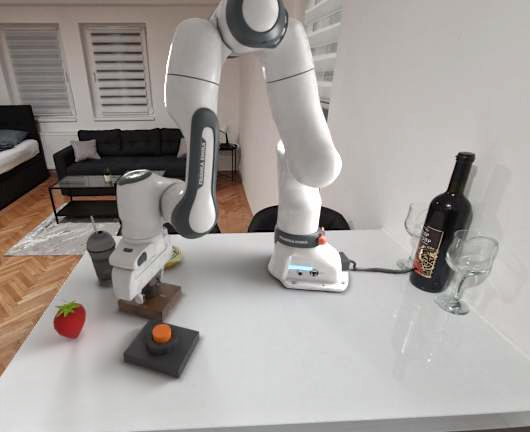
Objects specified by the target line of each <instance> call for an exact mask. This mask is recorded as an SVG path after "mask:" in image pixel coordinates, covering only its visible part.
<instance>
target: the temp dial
mask: <svg viewBox="0 0 530 432" xmlns="http://www.w3.org/2000/svg"><path fill="white" fill-rule="evenodd" d="M142 294H145V298H153V297H155V296H157V294H158V284H157V279H156V278H154V277H153V278H152V279H151V280H150V281H149V282H148V283H147V284H146V285H145V286H144V288H143V289H142Z"/></svg>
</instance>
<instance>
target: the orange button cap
mask: <svg viewBox="0 0 530 432" xmlns="http://www.w3.org/2000/svg"><path fill="white" fill-rule="evenodd" d="M152 334H153V340H154V342H156V343H158V344H162V343H166V342H168V341H169V340H170V338H171V329H170V327H169V326H168V325H166V324H160V325H157V326H156V327H155V328H154V329H153V331H152Z"/></svg>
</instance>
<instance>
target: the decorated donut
mask: <svg viewBox="0 0 530 432" xmlns="http://www.w3.org/2000/svg"><path fill="white" fill-rule="evenodd" d="M172 248H173V254H172V257H171V258H170V259H169V260H168V261H167V263H166V264H165V265H164V270H168V269H170V268H173V267H175V266H176V265H177V264H178V263H180V262H181V261H182V258H183V254H182V250H181V249H180V248H179V247H178V246H175V245H172Z"/></svg>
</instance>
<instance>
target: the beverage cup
mask: <svg viewBox="0 0 530 432" xmlns="http://www.w3.org/2000/svg"><path fill="white" fill-rule="evenodd" d="M90 220H91V224H92V227H93V229H94V232H92V233H91V234H90V235H89V236H88V238H87V240H86V248H85V249H86V251H87V253H88V255H89V257H90V259H91V262H92V265H93V268H94V269H93V270H94V272H95V274H96V278H97V280H98V283H99V285H100V286H101V287H102V288H103V287H104V288H108V287H111V286H112V287H113V283H112V269H113V267H114V266H113V265H110V263H109V257H110V255H111V254H112V252H113V251H114V250H115V248H116V246H117V243H116V240H115V238H114V237H113V235H112V234H111V233H110V232H108V231H107V230H98V229H97V226H96V224H95V220H94V216H93V215H90Z"/></svg>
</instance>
